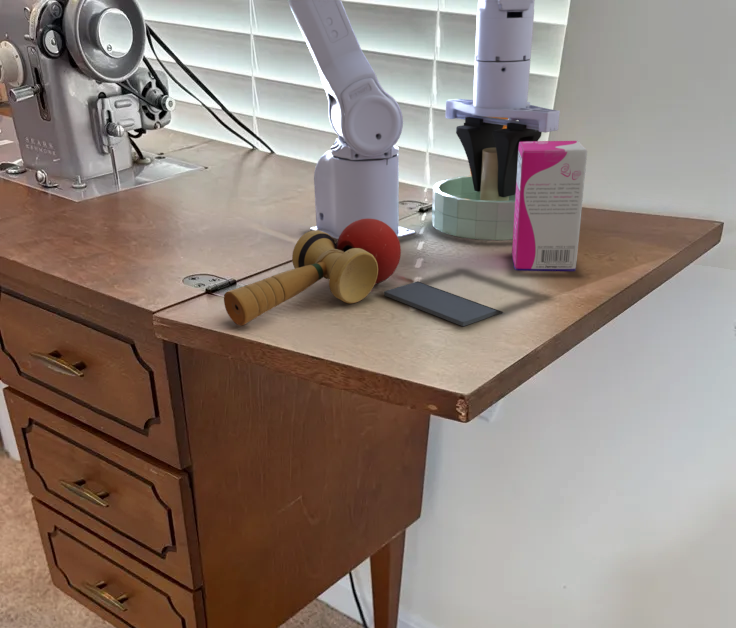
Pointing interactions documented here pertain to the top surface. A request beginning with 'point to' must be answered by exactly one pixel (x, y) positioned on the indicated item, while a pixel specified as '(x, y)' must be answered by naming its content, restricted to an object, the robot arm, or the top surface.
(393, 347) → the top surface
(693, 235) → the top surface
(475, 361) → the top surface
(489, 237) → the bowl
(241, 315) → the kendama
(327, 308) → the top surface
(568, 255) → the supplement box
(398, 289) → the felt mat
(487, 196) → the birch peg
